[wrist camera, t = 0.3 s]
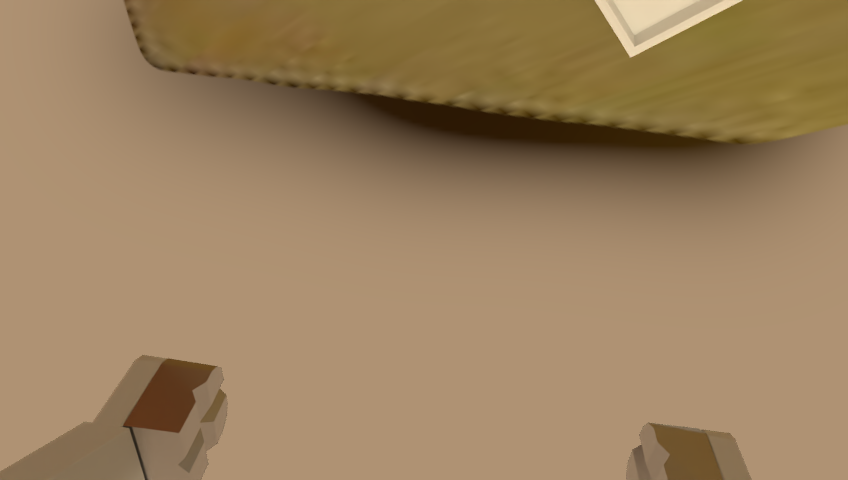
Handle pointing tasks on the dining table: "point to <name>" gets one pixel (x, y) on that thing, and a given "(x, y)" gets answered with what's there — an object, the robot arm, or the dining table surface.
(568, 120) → the dining table surface
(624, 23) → the tray
